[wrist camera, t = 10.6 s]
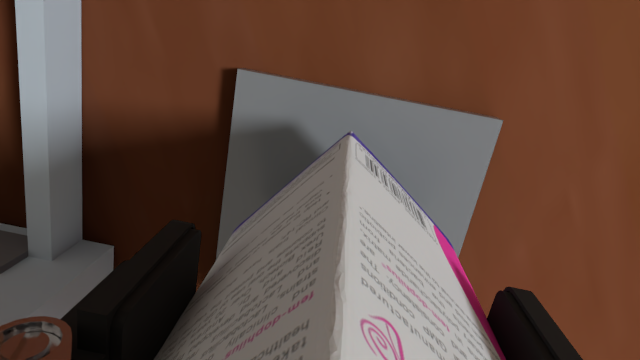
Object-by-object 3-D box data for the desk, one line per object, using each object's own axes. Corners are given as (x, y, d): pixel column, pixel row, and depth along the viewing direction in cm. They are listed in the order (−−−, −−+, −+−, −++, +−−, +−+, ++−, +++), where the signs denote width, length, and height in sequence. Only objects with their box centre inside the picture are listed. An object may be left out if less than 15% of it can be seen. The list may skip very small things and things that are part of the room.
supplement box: (228, 232, 15) (-115, 739, 4) (351, 125, 13) (354, 464, 2) (333, 335, 16) (296, 965, 5) (458, 247, 14) (803, 871, 3)
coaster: (243, 68, 16) (237, 69, 15) (495, 116, 16) (503, 120, 15) (217, 285, 19) (211, 295, 18) (427, 328, 19) (431, 340, 18)
